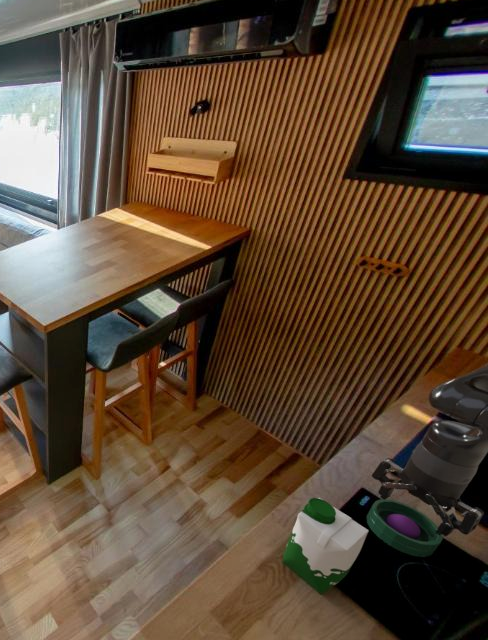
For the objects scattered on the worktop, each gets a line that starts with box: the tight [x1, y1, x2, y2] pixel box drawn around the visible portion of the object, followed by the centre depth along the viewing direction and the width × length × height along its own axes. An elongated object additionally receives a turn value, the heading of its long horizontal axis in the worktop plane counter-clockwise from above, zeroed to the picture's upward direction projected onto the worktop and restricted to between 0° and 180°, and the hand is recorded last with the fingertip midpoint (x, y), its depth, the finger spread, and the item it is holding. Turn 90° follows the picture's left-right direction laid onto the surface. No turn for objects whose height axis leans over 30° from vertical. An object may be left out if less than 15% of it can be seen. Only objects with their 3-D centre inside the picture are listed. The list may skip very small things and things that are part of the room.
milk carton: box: [281, 497, 369, 595], centre depth 76 cm, size 9×9×20 cm
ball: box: [386, 514, 421, 540], centre depth 82 cm, size 5×5×5 cm
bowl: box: [366, 498, 444, 558], centre depth 82 cm, size 10×10×6 cm
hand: (410, 513), depth 80 cm, fingers open, 8 cm apart
